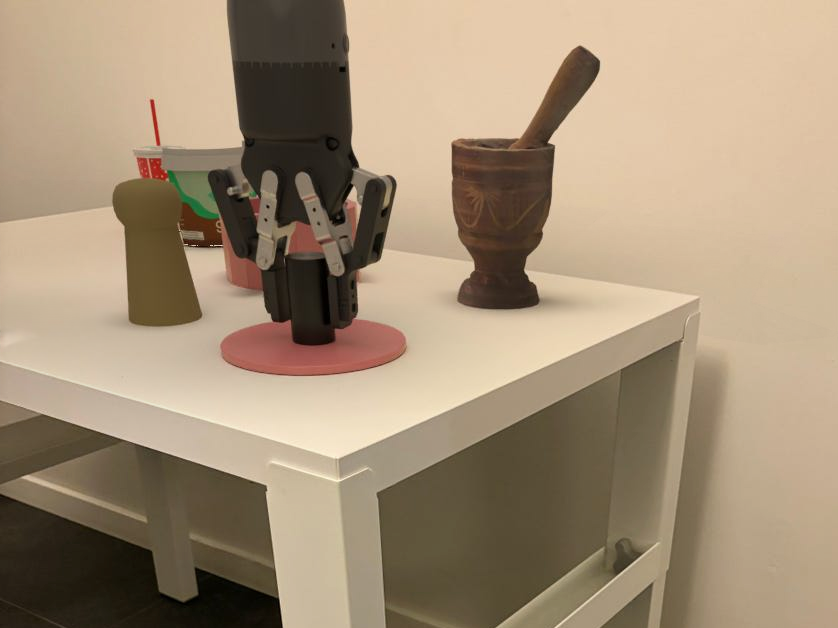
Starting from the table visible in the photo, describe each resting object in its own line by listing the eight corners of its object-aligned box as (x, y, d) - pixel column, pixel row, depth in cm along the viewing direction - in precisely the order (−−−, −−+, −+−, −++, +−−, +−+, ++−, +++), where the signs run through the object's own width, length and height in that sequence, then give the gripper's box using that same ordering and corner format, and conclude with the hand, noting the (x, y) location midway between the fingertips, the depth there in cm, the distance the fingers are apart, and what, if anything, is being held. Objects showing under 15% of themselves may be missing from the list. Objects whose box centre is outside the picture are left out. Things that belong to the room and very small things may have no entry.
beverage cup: (206, 226, 123) (189, 98, 115) (179, 234, 118) (159, 101, 110) (163, 223, 124) (144, 97, 117) (135, 231, 119) (113, 100, 112)
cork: (132, 336, 79) (105, 186, 73) (125, 318, 83) (100, 176, 78) (209, 329, 80) (189, 182, 75) (198, 312, 85) (178, 173, 79)
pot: (186, 296, 90) (174, 214, 87) (284, 260, 105) (277, 188, 101) (308, 308, 87) (300, 223, 83) (392, 269, 101) (389, 195, 97)
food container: (208, 253, 108) (195, 152, 102) (173, 247, 111) (158, 148, 106) (291, 237, 116) (282, 143, 111) (255, 232, 119) (245, 140, 114)
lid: (185, 371, 71) (168, 266, 67) (281, 326, 82) (272, 233, 78) (357, 392, 67) (350, 282, 63) (434, 342, 78) (432, 245, 74)
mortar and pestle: (551, 289, 94) (562, 44, 83) (596, 309, 87) (613, 45, 76) (438, 299, 90) (434, 44, 79) (475, 321, 83) (476, 45, 72)
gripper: (162, 54, 63) (201, 327, 72) (364, 57, 59) (378, 346, 68) (227, 53, 69) (255, 304, 78) (414, 55, 65) (421, 320, 74)
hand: (312, 322), depth 73 cm, fingers open, 4 cm apart
